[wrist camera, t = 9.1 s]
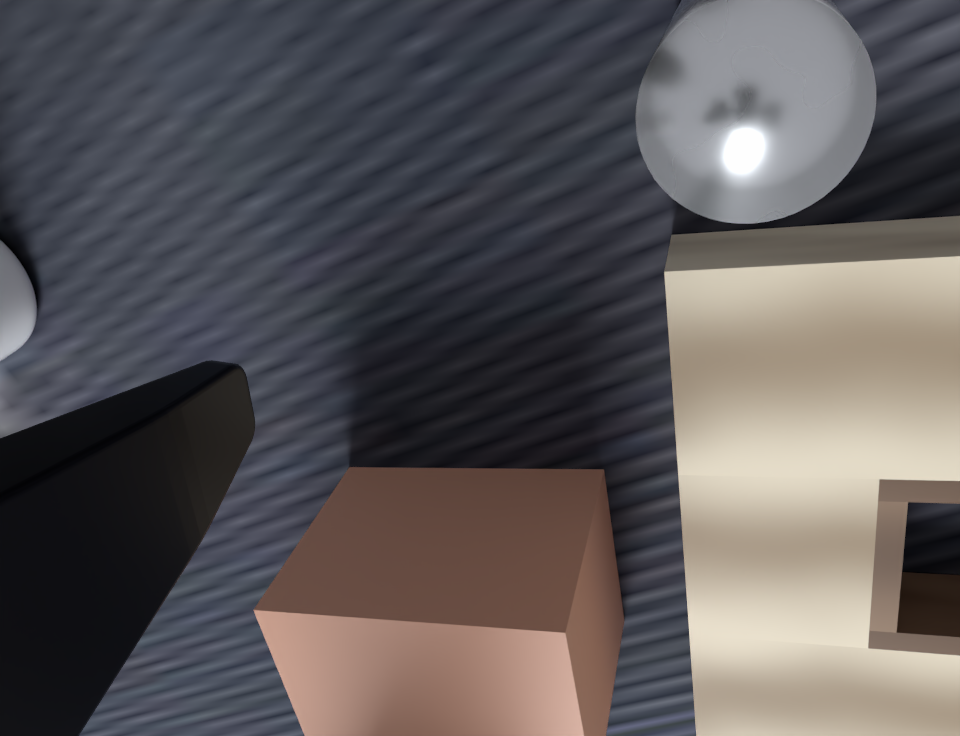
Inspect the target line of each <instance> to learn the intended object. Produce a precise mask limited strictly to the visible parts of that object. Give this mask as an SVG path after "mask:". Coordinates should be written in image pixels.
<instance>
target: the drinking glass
mask: <svg viewBox="0 0 960 736" xmlns="http://www.w3.org/2000/svg"><path fill="white" fill-rule="evenodd" d="M36 318H37V303H36V297H35V293H34V289H33V286H32V284H31V281H30V279H29V277H28V275H27V273H26V271H25V269H24V267H23V266H22V264H21V263H20V261H19V260H18V259H17V257H16V256H15V255H14V253H13V252H12V251H11V250H10V249H9V248H8V247H7V246H6V245H5V244H4V243H3V242H2V241H1V240H0V361H2V360H3V359H5V358H6V357H8V356H9V355H11V354H12V353H14V352H15V351H17V350H18V349H19V348H20V347H21V346H22V345H24V344H25V342H26V341H27V340H28V339H29V337H30V335H31V334H32V332H33V329H34V327H35V323H36Z"/></svg>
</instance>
